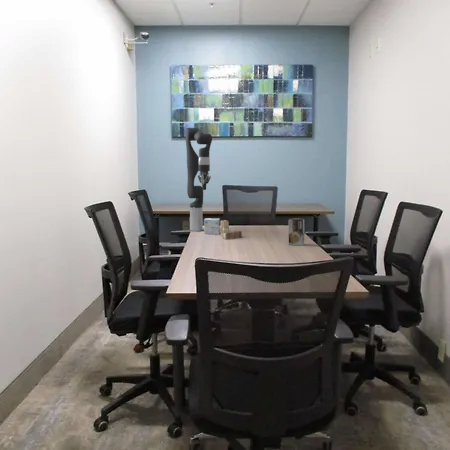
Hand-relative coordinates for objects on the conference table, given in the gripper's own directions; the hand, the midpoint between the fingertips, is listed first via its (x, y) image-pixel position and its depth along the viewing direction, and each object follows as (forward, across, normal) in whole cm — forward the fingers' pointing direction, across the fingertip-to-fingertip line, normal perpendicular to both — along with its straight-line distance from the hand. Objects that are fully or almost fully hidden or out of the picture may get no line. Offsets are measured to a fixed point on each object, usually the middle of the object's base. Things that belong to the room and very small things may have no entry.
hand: (204, 189), depth 308 cm
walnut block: (+30, -16, -5) cm, 34 cm away
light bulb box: (+33, +7, -11) cm, 35 cm away
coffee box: (+31, -60, -29) cm, 74 cm away
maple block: (+32, -4, -14) cm, 35 cm away
